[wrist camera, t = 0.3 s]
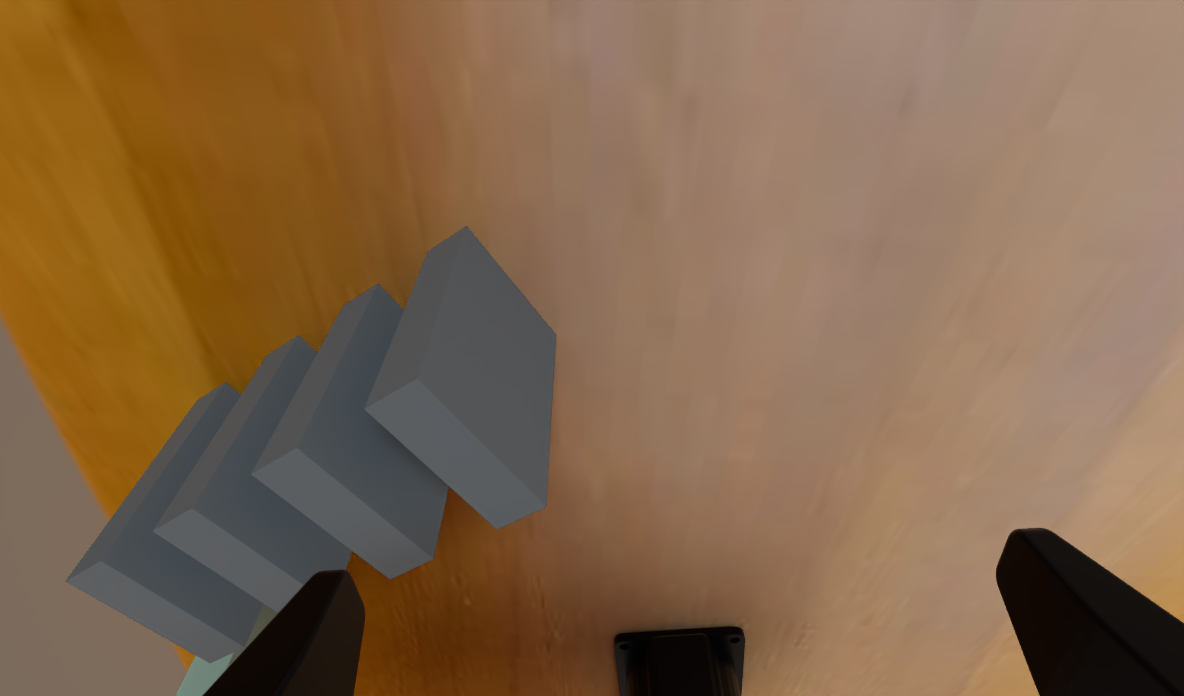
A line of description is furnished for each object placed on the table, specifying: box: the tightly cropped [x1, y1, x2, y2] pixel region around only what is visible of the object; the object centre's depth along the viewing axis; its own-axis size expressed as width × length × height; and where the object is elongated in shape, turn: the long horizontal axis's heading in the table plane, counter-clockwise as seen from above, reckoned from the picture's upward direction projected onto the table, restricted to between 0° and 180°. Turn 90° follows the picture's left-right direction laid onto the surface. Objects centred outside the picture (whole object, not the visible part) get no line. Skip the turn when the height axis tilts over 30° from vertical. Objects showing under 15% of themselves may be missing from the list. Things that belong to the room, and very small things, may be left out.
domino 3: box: [251, 284, 449, 579], centre depth 21 cm, size 2×5×8 cm, turn 33°
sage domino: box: [176, 604, 278, 696], centre depth 30 cm, size 2×5×8 cm, turn 5°
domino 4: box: [364, 226, 556, 529], centre depth 20 cm, size 2×5×8 cm, turn 33°
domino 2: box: [153, 335, 352, 613], centre depth 22 cm, size 2×5×8 cm, turn 33°
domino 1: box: [66, 382, 263, 663], centre depth 24 cm, size 2×5×8 cm, turn 33°
